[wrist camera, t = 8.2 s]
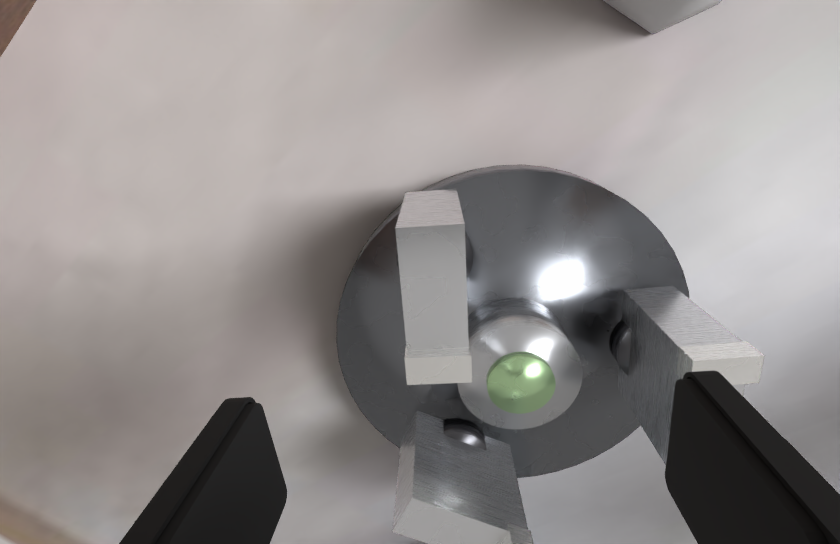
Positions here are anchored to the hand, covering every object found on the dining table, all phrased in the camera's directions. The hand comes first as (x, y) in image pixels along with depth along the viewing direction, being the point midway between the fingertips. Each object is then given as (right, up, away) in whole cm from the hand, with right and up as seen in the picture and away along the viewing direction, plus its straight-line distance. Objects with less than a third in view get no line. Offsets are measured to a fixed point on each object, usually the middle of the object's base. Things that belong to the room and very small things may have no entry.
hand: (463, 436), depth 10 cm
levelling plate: (+4, 0, +16) cm, 16 cm away
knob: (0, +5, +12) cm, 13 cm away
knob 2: (+11, 0, +14) cm, 17 cm away
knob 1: (+1, -6, +17) cm, 18 cm away
